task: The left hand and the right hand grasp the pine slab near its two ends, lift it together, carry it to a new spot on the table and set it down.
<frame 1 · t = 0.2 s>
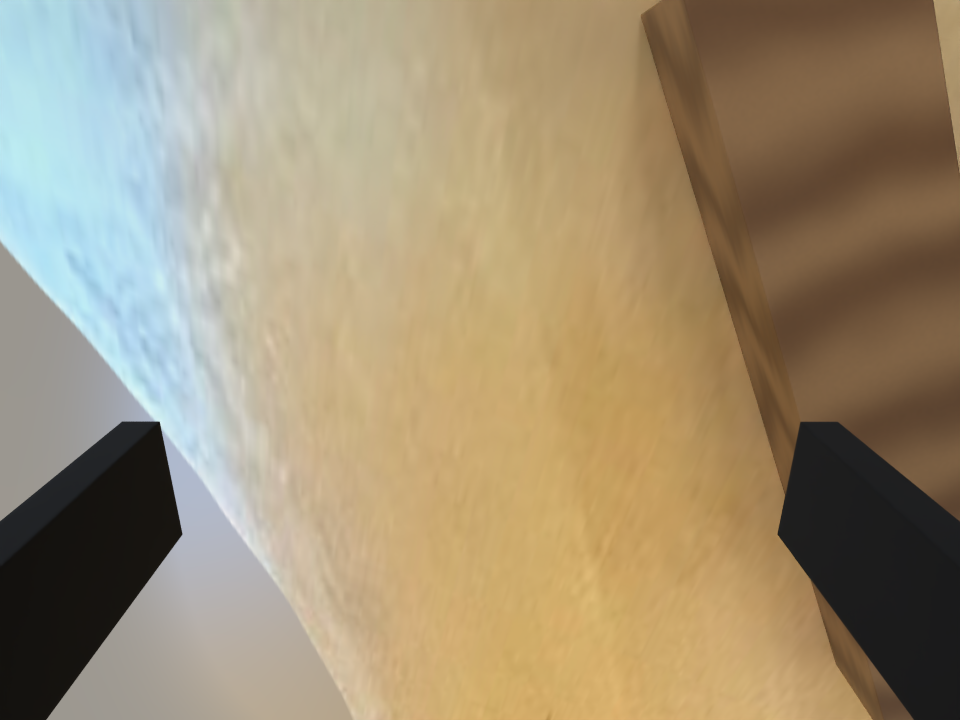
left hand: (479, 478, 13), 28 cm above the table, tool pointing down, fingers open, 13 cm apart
slab: (831, 376, 42), on the table
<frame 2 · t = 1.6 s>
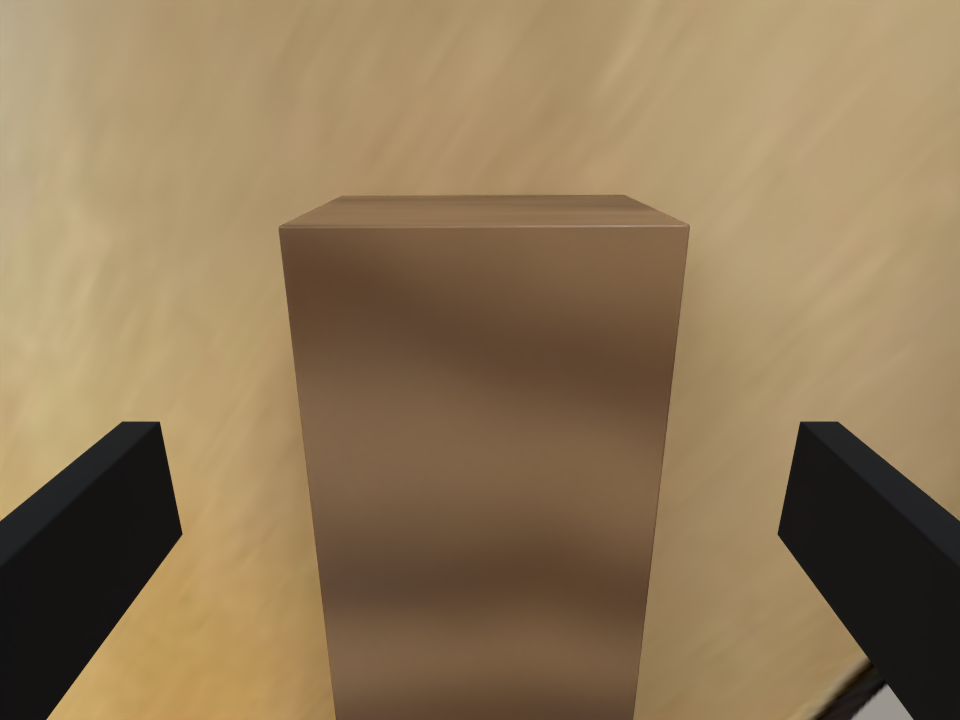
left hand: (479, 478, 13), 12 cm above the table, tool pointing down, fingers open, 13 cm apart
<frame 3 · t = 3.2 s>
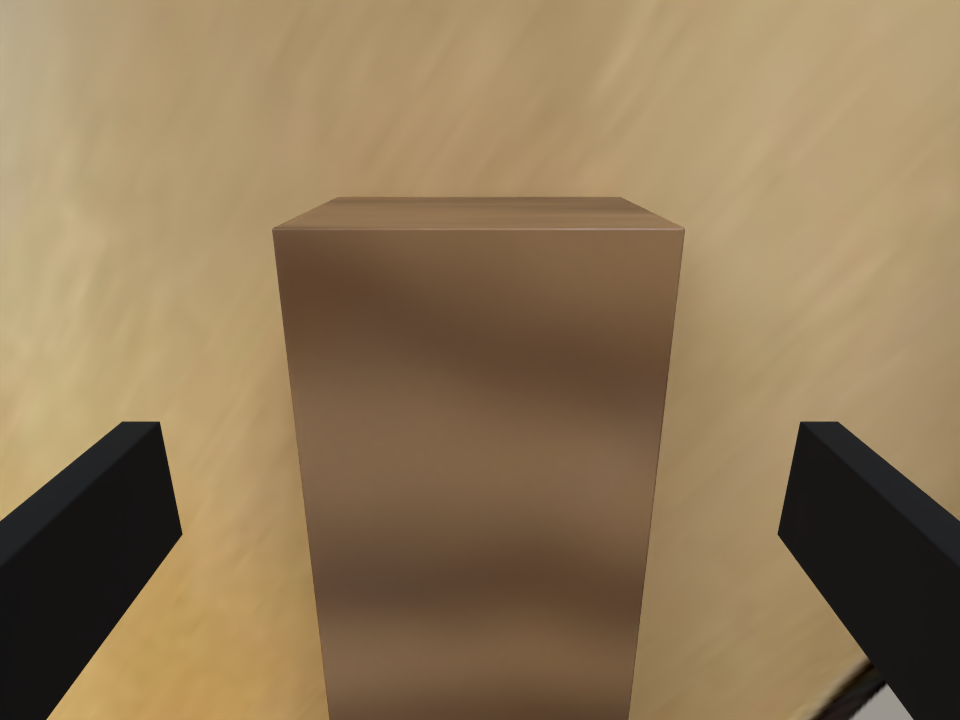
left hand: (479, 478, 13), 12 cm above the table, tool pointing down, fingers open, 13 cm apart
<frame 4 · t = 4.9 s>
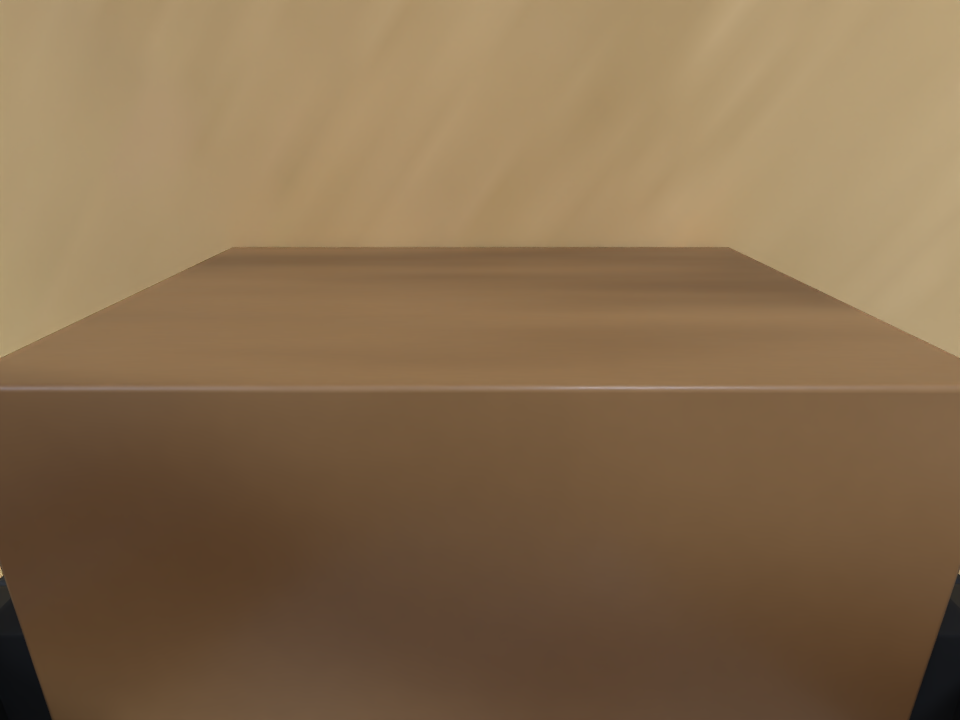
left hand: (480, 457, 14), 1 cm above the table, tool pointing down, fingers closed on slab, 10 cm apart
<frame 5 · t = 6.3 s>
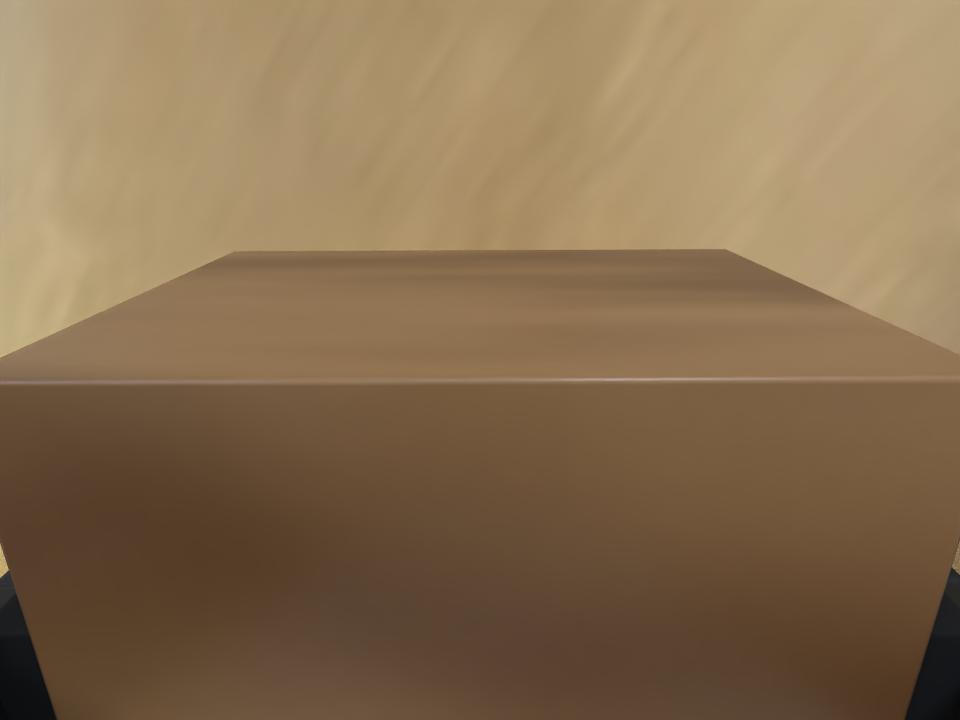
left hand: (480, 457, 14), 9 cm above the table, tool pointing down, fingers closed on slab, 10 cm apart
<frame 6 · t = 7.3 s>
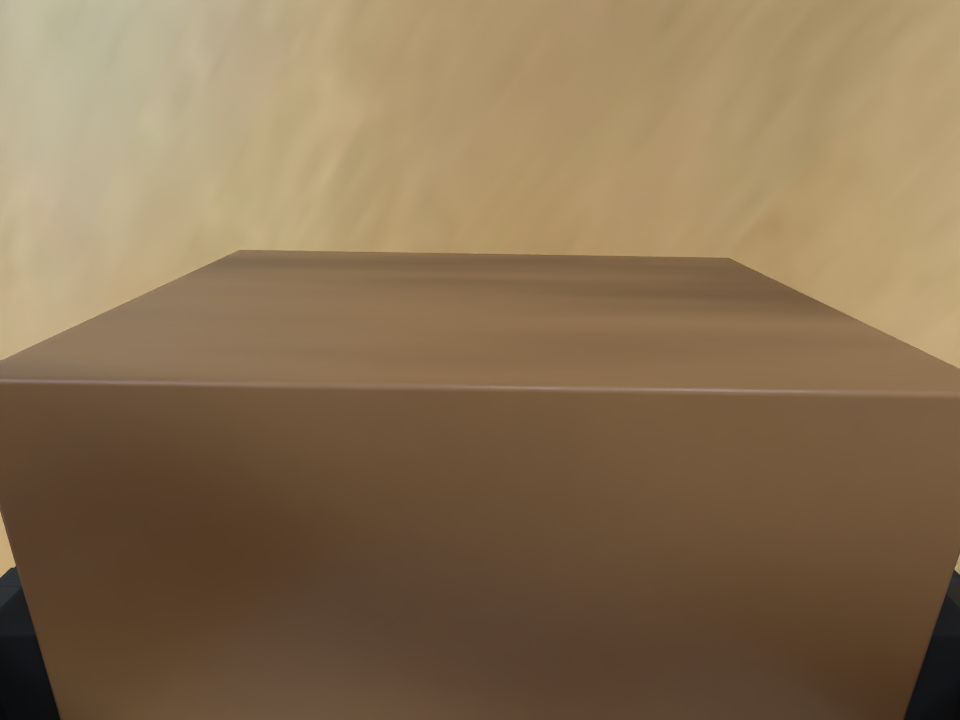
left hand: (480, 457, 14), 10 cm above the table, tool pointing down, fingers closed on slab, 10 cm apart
when the left hand's fingers open (2 cm above the table, at t = 9.7 s): slab drops 1 cm, on the table.
when the right hand's fingers open (2 cm above the table, at t = 9.7 s): slab drops 1 cm, on the table.
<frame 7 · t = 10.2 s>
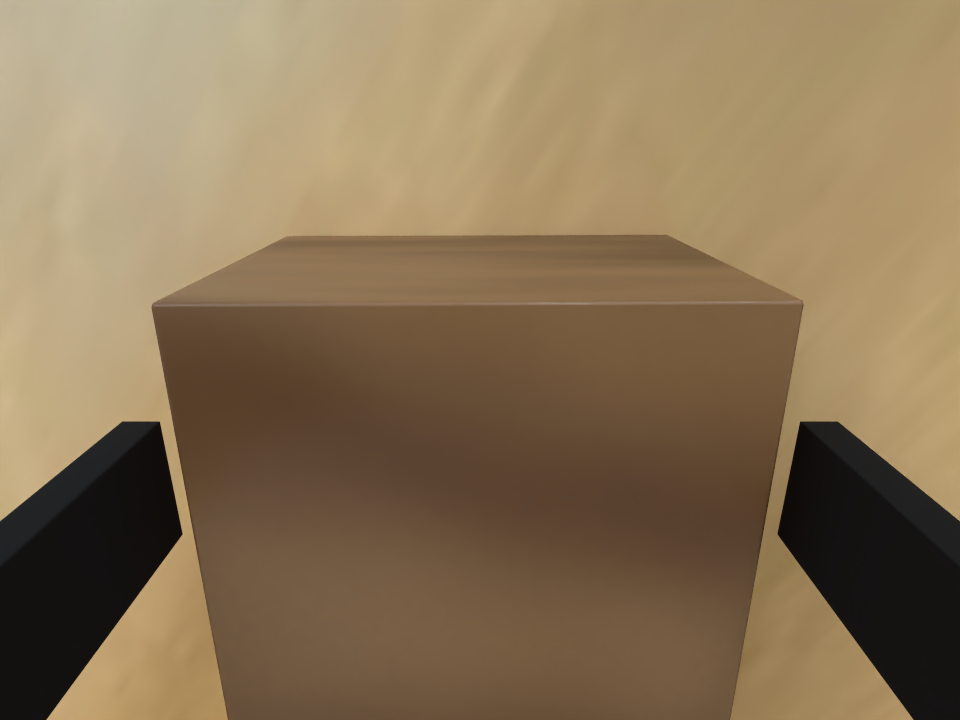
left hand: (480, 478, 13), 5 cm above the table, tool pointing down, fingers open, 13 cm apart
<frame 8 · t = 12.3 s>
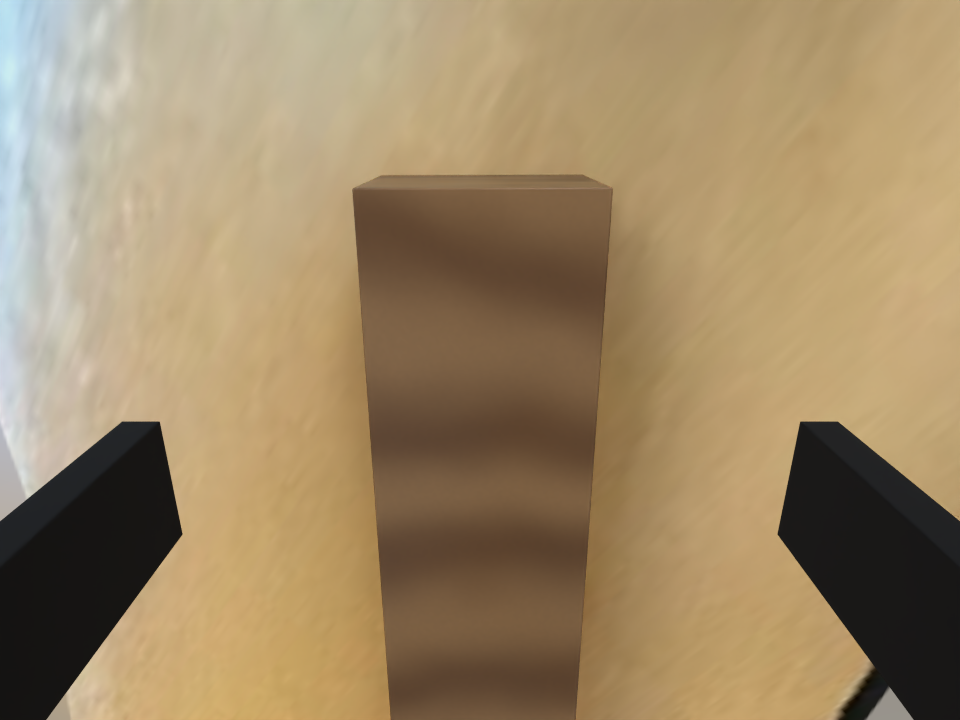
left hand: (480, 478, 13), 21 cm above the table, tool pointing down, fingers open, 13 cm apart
slab: (482, 588, 40), on the table
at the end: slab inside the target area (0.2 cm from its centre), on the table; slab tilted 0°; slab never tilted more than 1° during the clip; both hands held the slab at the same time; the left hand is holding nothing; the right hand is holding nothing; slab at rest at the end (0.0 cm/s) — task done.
